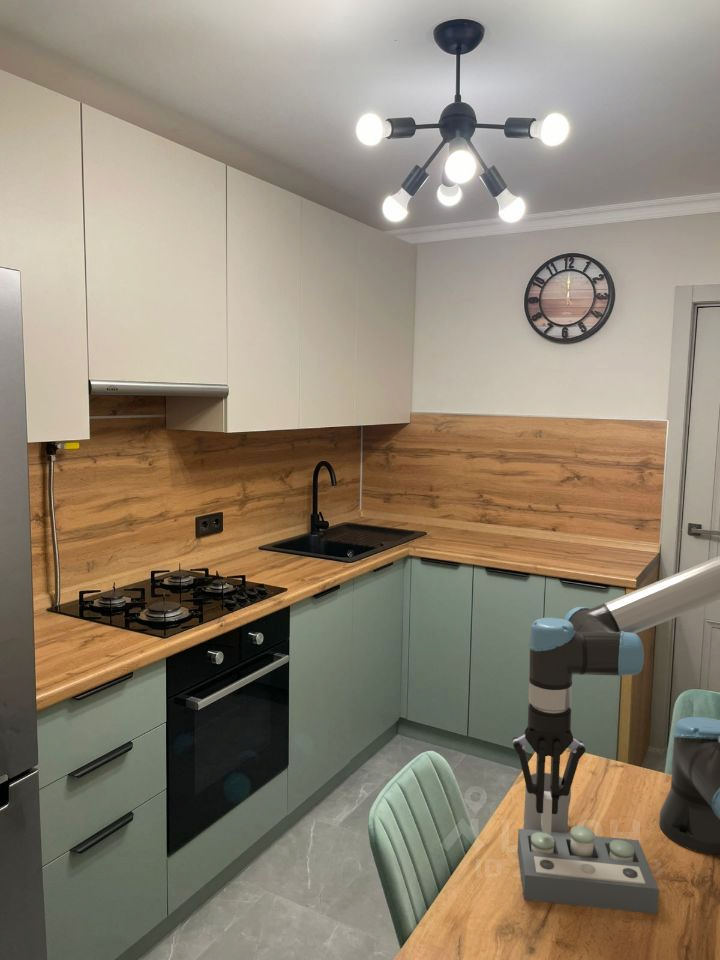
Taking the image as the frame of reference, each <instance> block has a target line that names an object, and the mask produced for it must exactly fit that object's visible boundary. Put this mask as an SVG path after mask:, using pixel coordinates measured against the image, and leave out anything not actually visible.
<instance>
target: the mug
mask: <svg viewBox="0 0 720 960" xmlns="http://www.w3.org/2000/svg"><path fill="white" fill-rule="evenodd" d="M530 774H531V773H530ZM550 778H551V772H545V778H544V791H548V792H551V790H550ZM562 778H563V776H560V775H559V785H561V782H562ZM531 779H532V783H534V784H536V772H535V773H532V774H531ZM571 788H572V787H571ZM571 788H570V792H569V795H568V796H564V795H563V796H560V797H559V800H558V812H557V814H552V819H551V832H559V833H568V832H569V830H568V828H569V809H570V804H571V797H572V789H571ZM524 792H525V793H524V811H523V812H524V813H523V828H522V829H528V830H538V831H542V827H541V813H537V810H536V795H535V794H533V793H532V794H530V793H528V792H527V788H526V786H525V790H524Z"/></svg>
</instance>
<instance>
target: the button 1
mask: <svg viewBox="0 0 720 960" xmlns="http://www.w3.org/2000/svg"><path fill="white" fill-rule="evenodd" d="M554 845H555V840H554V838H553V837H552V836H551V835H549V834H547V833H543V832H537V833H534V834H532V836H531V852H541V853H551V854H553V853H554Z"/></svg>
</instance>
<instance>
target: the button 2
mask: <svg viewBox="0 0 720 960" xmlns="http://www.w3.org/2000/svg"><path fill="white" fill-rule="evenodd" d="M609 849H610V860H620V861H630V862H633V855H634V847H633V846H632V845H631V844H630V843H628V842H626V841H623V840H613V841H611V842H610V848H609Z"/></svg>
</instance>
